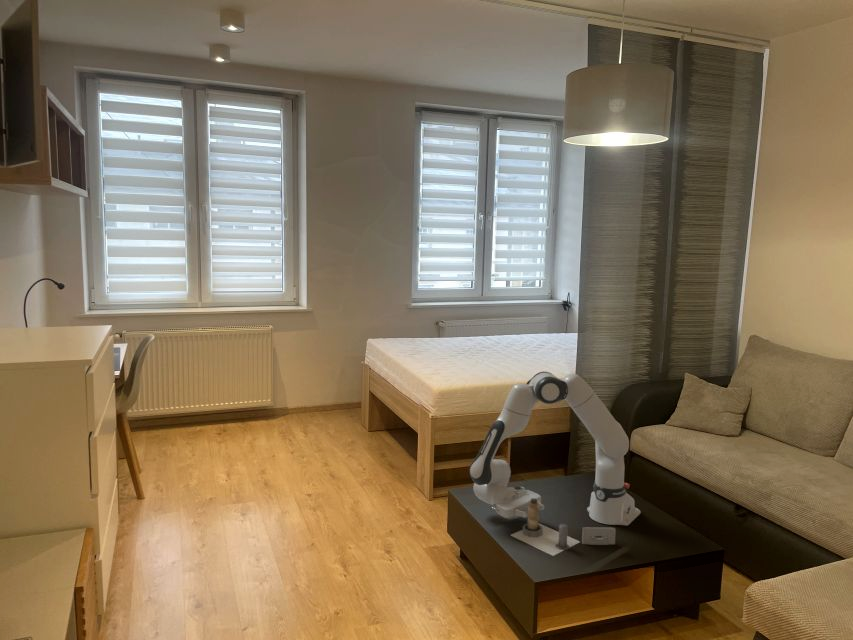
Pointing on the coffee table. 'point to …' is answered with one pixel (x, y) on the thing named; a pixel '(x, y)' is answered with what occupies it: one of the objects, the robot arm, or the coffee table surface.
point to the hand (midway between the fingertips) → (535, 511)
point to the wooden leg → (533, 515)
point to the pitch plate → (547, 538)
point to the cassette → (598, 531)
